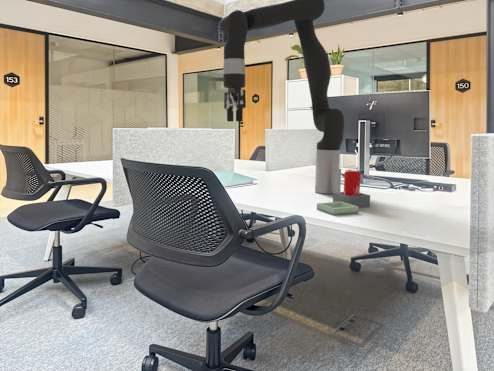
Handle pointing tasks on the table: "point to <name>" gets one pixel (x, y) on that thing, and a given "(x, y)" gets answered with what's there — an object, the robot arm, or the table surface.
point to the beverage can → (352, 182)
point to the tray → (337, 208)
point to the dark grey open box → (352, 199)
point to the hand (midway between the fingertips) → (234, 121)
